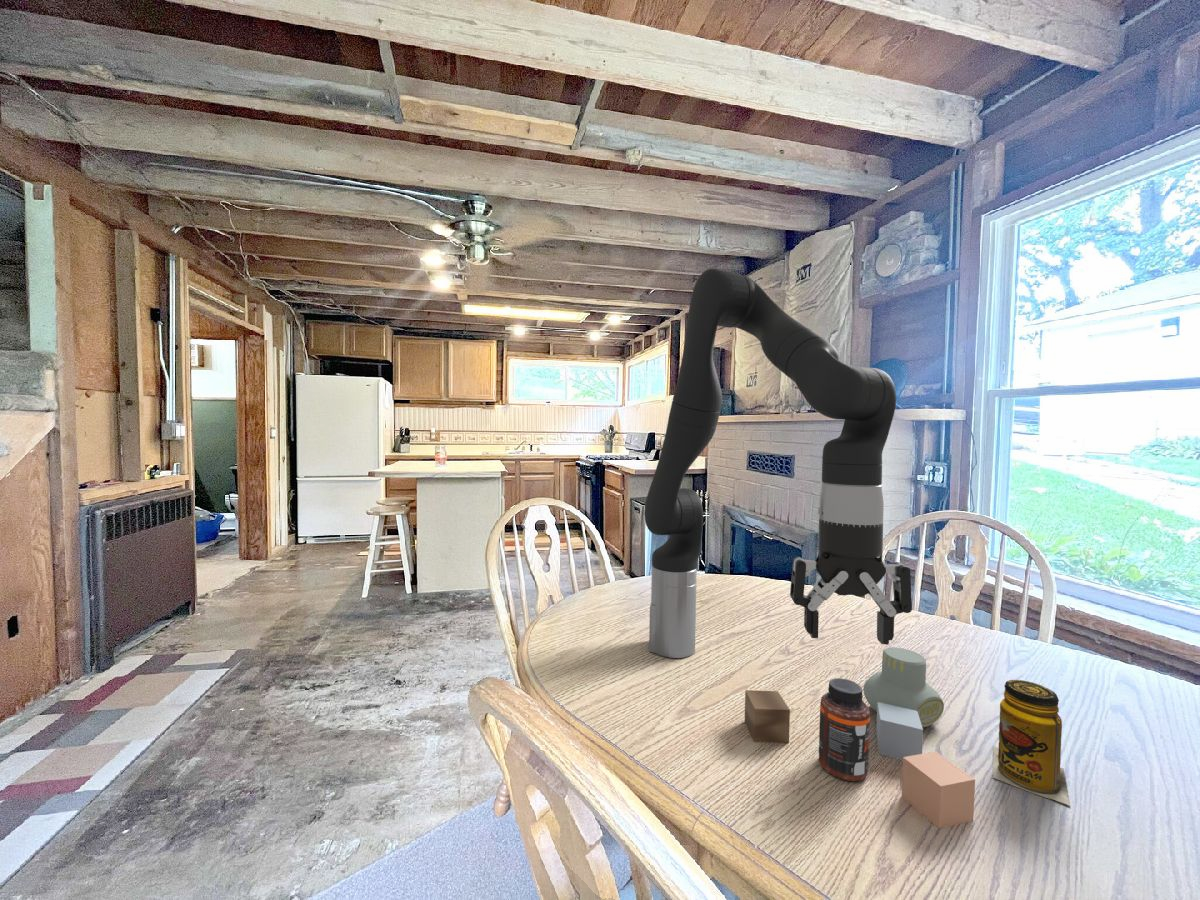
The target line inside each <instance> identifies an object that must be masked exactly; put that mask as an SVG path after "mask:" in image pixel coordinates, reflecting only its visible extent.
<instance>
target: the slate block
mask: <svg viewBox="0 0 1200 900" xmlns="http://www.w3.org/2000/svg"><path fill="white" fill-rule="evenodd" d="M923 728H924V727H922V725H921V721H920V718H919V715H918V712H917V711H915V710H911V709H907V708H902V707H898V706H893V705H889V704H885V703H880V702H877V711H876V730H875V731H876V742H877V748H878V754H879V755H882V756H885V757H888V758H893V759H897V760H899V761H903V757H907V756H912V755H918V754H923V740H924V729H923Z"/></svg>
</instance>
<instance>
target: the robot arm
mask: <svg viewBox="0 0 1200 900" xmlns="http://www.w3.org/2000/svg"><path fill="white" fill-rule="evenodd" d="M686 321H687V323H686V329H685V336H684V344H683V352H682V356H681V361H680V362H681V363H680V366H679V372H678V377H677V382H676V384H675V389H674V394H673V397H672V401H671V405H670V409H669V414H668V419H667V424H666V425H667V426H666V431H665V435H664V439H663V442H662V447H661V451H660V454H659V458H658V462H657V465H656V468H655V470H654V474H653V477H652V481H651V483H650V486H649V489H648V493H647V496H646V499H645V503H644V511H643V513H644V522H645V525H646V527H647V530H649V532H650V533H652V534H653V535H657V536H669V537H668V539H667V540H666V541H665V542H664V543H663V544H662V545H660V546H659V547H657V548H656V549H655V550H653V552H652V555H651V586H650V587H651V589H650V590H651V591H650V592H651V593H650V594H651V595H650V604H649V626H648V627H649V628H648V629H649V631H648V634H649V635H648V641H649V642H648V652H649V653H654V654H657V655H659V656H661V657H666V658H670V659H681V658H682V659H683V658H688V657H690V656H692V655H694V654H695V651H696V630H697V629H696V624H697V623H696V621H697V620H696V619H697V618H696V617H697V615H696V614H697V579H698V578H697V573H698V568H697V567H698V561H699V560H698V559H699V558H700V555H701V552H702V541H703V539H702V538H703V528H704V527H703V526H704V509H703V503H702V499H701V497H700V496H699V494H698V493H697V491H695V490H693V489H691V488H687V487H686V488H683V487H682V483H683V480H684V479H685V475H686V474H687V472H688V470H689V468H690V467H691V466H692V465H693V463H694V462H695V461H696V460H697V458H698V457H699V456H700V455H701V454H702V453H703V452H704V450H705V449H706V448H707V446H708V445H709V443H710V442H711V440H712V439H713V438H714V435H715V432H716V429H717V425H718V423H719V419H720V413H721V411H722V405H723V392H722V388H721V384H720V381H719V376H718V373H717V369H716V365H715V361H714V346H715V339H716V334H717V330H718V327H721V328H729V329H730V328H731V329H732V328H736V329H739V330H741V331H743V332H746V333H748V334H750V335H752V336H753V337H755V338H756V339H757V340H758V341H759V342H760V346H761V349H762V352H763V354H764V355H765V357H766V358H767V360H768V361H769V362H771V364H772V365H773V366H774V367H775V368H777V369H778V370H779V371H780V372H781V373H783V374H784V375H785V376H787V378H789V379H790V380H791V381H793V382H794V383H795V385H796V386H797V389H798V390H799V391H800V393H801V395H803V397H804V399H805V400H806V402H807V403H808V405H809V406H810V407H811V408H812V409H813V410H815V411H816V412H817V413H819V414H821V415H823V416H824V417H826V418H828V419H833V420H842V421H843V420H844V423H843V426H842V429H841V432H840V435H839V436H838V437H836V438H833V439H830V440H828V441H826V443H825V444H824V445H823V448H822V459H821V460H822V461H821V487H820V493H819V502H818V508H817V509H818V510H817V511H818V513H817V514H818V546H817V547H818V549H817V550H818V552H817V556H816V558H815V560H811V559H803V558H802V557H800V556H795V557H794V558H793V559H792V566H791V567H792V568H791V579H790V590H789V597H790V598H791V599H792V602H793V603H794V605H797V606H801V607H803V608H804V609H803V610H804V611H803V612H804V613H803V618H804V619H803V625H804V626H803V627H804V629H805V631H806V633H807V634H809V636H810V638H811V639H817V640H818V639H819V618H820V615H819V614H820V613H819V610H818V608H819V607H820V606H822V604H823V603H824V602H825V601H828V600H829V598H830V597H832V596H833V594H834V593H835V594H836V595H837V596H843V597H845V596H850V595H852V596H855V597H860V598H861V597H862V598H864V597H865V596H867V595H869V596H870V597H871V598H872V600H873V601H874V603H875V604H876V605H877V606H878V608H879V610H877V611H876V613H877V614H876V615H877V616H876V639H877V641H878V642H879V643H880V644H881V645H887V646H888V645H889V644H890V641H893V639H894V637H895V617H896V616H897V615H899V614H902V613H905V614H909V613H911V612H912V611H913V602H912V601H913V600H912V581H911V579H912V578H911V577H912V576H911V569H910V568H909V567H908V566H907V565H905V564H903V563H901V562H899V561H896V562H893V563H891V564H890V563H888V564H886V563H885V564H884V562H883V547H884V544H883V543H884V540H883V539H884V495H883V486H882V484H883V452H884V448H885V445H886V443H887V440H888V437H889V433H890V430H891V427H892V423H893V419H894V416H895V411H896V406H897V392H896V387H895V385H894V384H895V383H894V381H893V379H892V378H891V376H890V375H889V374H888V373H887V372H885V370H881V369H880V368H876V367H870V366H868V367H867V366H860V365H859V366H858V365H852V364H850V365H849V364H846V363H845V362H843V361H841V360H839V359H840V357H839V353H838V351H837V349H836V347H835V346H834V345H833V344H831V342H829V341H828V340H826V339H825V338H824V337H822V336H821V335H819V334H817V333H816V332H814V331H813V330H811V329H810V328H808V327H807V326H806V325H804V324H802V323H801V322H799V321H798V320H796V319H795V318H794V317H792V316H791V315H789V313H787V312H785V311H784V310H783V309H782V307H780V306H779V305H778V304H777V303H776V302H775V301H774V300H773V299H772V298H771V297H770V296H769V295H768V294H767V293H766V292H765V290H763V288H762V287H761V286H760V285H759V284H758V283H757V282H756V281H755V280H754V279H752V278H751V277H749V276H747V275H744V274H739V273H734V272H729V271H727V270H723V269H718V268H708V269H706V270H704V271H703V272H702V273H701V274H700V275H699V277H698V278H697V280H696V282H695V284H694V287H693V289H692V293H691V296H690V301H689V309H688V314H687V320H686ZM681 487H682V488H681ZM813 570H815V571H816V572H817V574H818V575H819V577H820V578H819V579H818V580H817V581H816V582H815V583H814V584H813V586H812V588H811V590H809V592H808V593H807V594H806V595H805V584H806V577H809V576H810V575H811V574H812V573H811V572H812V571H813ZM886 574H887V575H888V576H887V577H888V578H889V579H890V580H891V581H892V587H893V588H892V589H893V590H892V591H893V592H892V593H893V595H892V596H893V600H889V599H888V598H887V596H886V595H885V594H884V592H883V591H882V589H881V588H880V587H879V586H878V583H880V581H881V580H883V578H884V577H885V576H886Z"/></svg>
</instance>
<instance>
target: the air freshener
mask: <svg viewBox="0 0 1200 900" xmlns="http://www.w3.org/2000/svg"><path fill="white" fill-rule="evenodd" d="M881 659H882V661H881V671H879V672H876V673H874V674H872V675H870V676H869V678H867V679H866V680H865V683H864V685H863V688H862V692H863V695H864V698H865V699H866V700H865V701H866V702H867V703H868V704H869V705H870V707H871V708H872V709H873V710H874V711H875V712H877V702H880V703H885V704H889V705H893V706H898V707H902V708H907V709H911V710H915V711H917V712H918V715H919V718H920V721H921V725H922V728H926V727H929V726H931V725H934V724H936V722H937V721H938V720H939V719H940V718H941V717H942V715H943V714H944V709H945V703H944V700H943V698H942V697H941V695H940V693H938V692H937V690H936V689H935V688H934V687H933V686H931V685H930V684H928V683H927V682H926V681H927V660H926V659H925V658H924V656H923V655H921V654H920V653H918V652H916V651H913V650H910V649H907V648H903V647H894V646H892V647H886V648H885V649H883V650H882V658H881Z"/></svg>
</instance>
